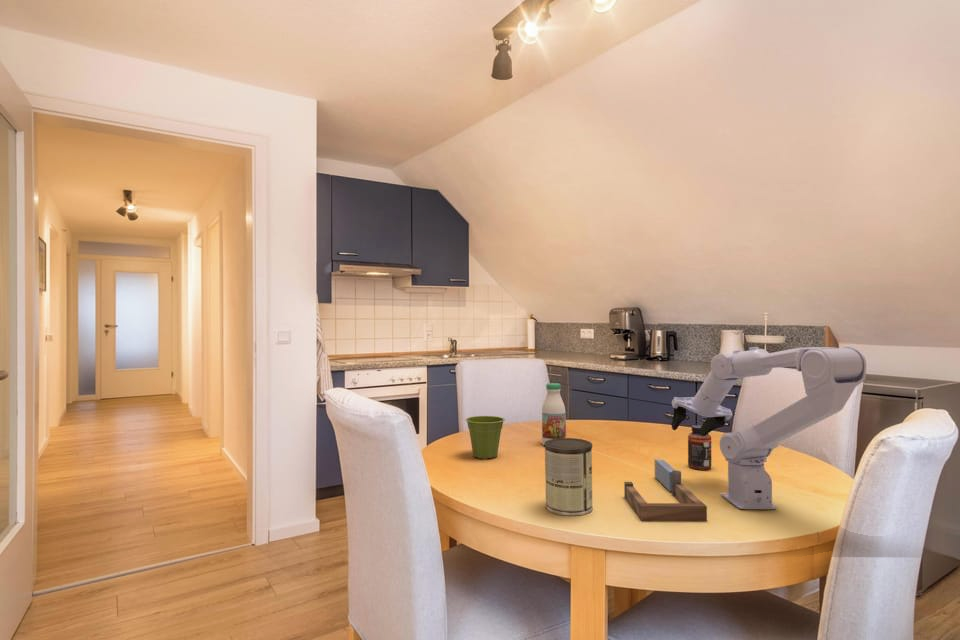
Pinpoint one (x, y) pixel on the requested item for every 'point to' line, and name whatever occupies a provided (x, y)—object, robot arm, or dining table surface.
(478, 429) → the plant pot
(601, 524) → the dining table surface
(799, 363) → the robot arm
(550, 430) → the milk bottle
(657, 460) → the gate
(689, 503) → the wooden u-shaped frame
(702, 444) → the supplement bottle
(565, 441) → the coffee can
